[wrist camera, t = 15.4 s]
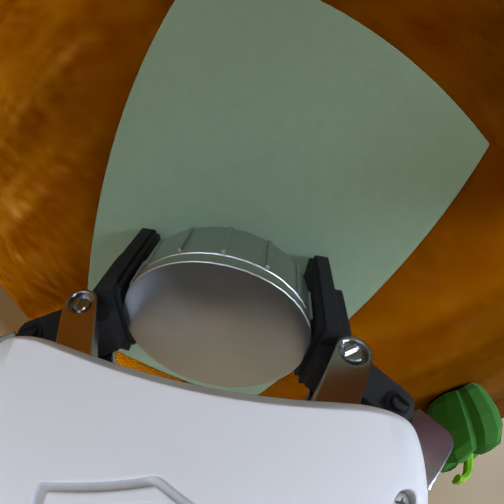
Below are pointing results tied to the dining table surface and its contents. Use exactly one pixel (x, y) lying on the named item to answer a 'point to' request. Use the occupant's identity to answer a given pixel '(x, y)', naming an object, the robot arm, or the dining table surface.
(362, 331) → the dining table surface
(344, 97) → the mat
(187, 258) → the lid
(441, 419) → the bell pepper
